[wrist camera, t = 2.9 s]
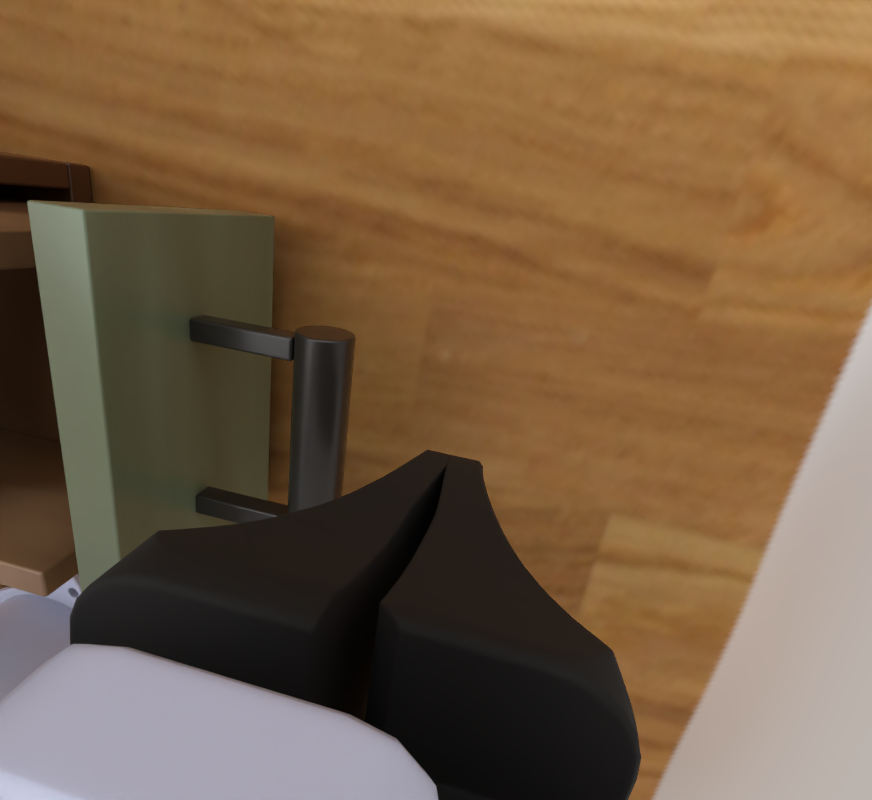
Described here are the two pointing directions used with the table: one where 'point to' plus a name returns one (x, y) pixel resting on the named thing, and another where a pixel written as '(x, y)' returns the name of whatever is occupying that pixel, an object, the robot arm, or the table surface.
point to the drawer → (148, 383)
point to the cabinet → (43, 179)
